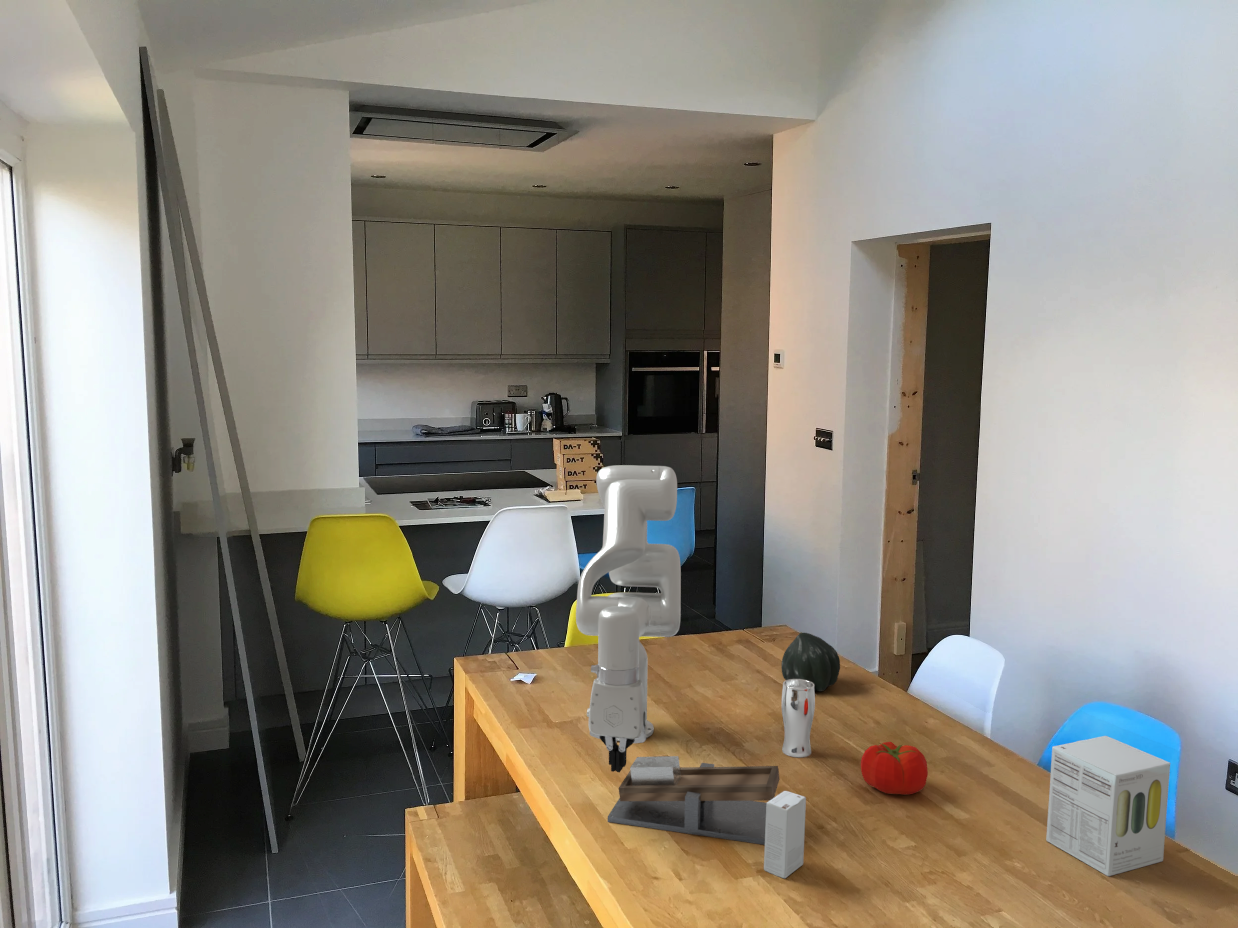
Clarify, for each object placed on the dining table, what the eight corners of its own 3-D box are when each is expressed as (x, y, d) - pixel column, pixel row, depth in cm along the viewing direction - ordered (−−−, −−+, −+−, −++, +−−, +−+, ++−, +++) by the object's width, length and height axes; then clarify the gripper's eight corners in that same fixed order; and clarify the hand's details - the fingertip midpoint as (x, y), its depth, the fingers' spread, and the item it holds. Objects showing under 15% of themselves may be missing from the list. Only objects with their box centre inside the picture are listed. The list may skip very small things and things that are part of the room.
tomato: (928, 779, 196) (929, 738, 195) (926, 806, 184) (928, 763, 183) (863, 770, 200) (864, 730, 199) (856, 796, 188) (858, 753, 187)
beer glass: (813, 759, 205) (815, 690, 203) (779, 756, 206) (781, 687, 205) (813, 746, 212) (815, 679, 210) (780, 744, 213) (782, 677, 212)
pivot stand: (606, 822, 177) (607, 785, 176) (629, 787, 191) (629, 753, 190) (779, 848, 168) (780, 809, 167) (789, 809, 182) (790, 773, 182)
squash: (858, 665, 251) (822, 616, 255) (838, 683, 238) (800, 632, 242) (818, 692, 258) (783, 645, 262) (796, 711, 245) (760, 661, 249)
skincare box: (781, 856, 165) (783, 788, 164) (805, 865, 163) (807, 796, 161) (762, 871, 161) (764, 800, 159) (786, 880, 158) (788, 809, 156)
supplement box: (1108, 878, 160) (1115, 775, 158) (1044, 841, 172) (1050, 745, 170) (1165, 861, 165) (1173, 762, 163) (1099, 827, 177) (1105, 733, 175)
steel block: (632, 788, 180) (630, 767, 180) (639, 777, 185) (637, 756, 184) (675, 788, 178) (672, 766, 177) (681, 776, 182) (678, 755, 182)
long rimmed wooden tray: (620, 801, 179) (618, 787, 179) (633, 780, 187) (631, 768, 187) (773, 800, 171) (771, 786, 171) (779, 778, 179) (777, 765, 179)
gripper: (573, 676, 180) (573, 771, 182) (652, 684, 175) (651, 782, 177) (586, 663, 187) (585, 756, 189) (662, 671, 183) (661, 766, 185)
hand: (617, 768), depth 183 cm, fingers closed
